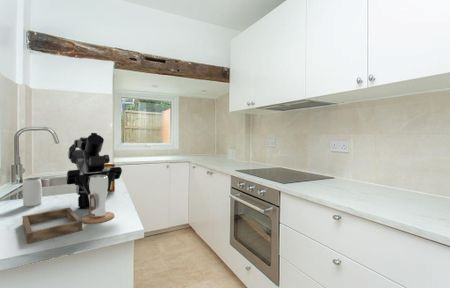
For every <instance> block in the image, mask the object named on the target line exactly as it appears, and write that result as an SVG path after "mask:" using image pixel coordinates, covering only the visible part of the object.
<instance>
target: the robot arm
mask: <svg viewBox="0 0 450 288" xmlns="http://www.w3.org/2000/svg"><path fill="white" fill-rule="evenodd" d="M104 142H105V139H104V138H103V137H102V136H101V135H100V134H98V133H97V132H91V133H90V134H89V135H88V137H87V136H86V137H85V136H81V137H79V139H75V140H74V142H73V144H71V146H70V147H69V149H68V152H67V155H68V159H69V160H70V163H72V164H75V165H76V169H68V170H67V172H66V184H67V185H75V186H76V187H75V188H76V189H75V192H76V194H77V196H78V197H77V206H78V209H79V210H82V209H89V208H90V204H89V197H88V195H89V189H88V180H89V176H91V175H108V183H109V185H108V193H110V192H109V191H110V186H111V181H114V179H115V180H118V179H120V178H121V175H122V172H123V168H122V167H121V166H115V167H110V171H103V169H104V164H105V163H111V161H110V156H109V154H104V155H100V153H101V151H102V148H103V145H104ZM77 148H78V149H77Z"/></svg>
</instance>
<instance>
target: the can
mask: <svg viewBox="0 0 450 288" xmlns="http://www.w3.org/2000/svg"><path fill="white" fill-rule="evenodd" d="M42 186H43V185H42V180H41V177H27V178H24V179H23V182H22V205H23V207H25V206H26V207H25V208H28V207H29V208H30V206H32V207H36V206H40V205H41V204H42V203H43V195H42V194H43V191H42V189H43V187H42Z"/></svg>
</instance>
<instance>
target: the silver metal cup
mask: <svg viewBox="0 0 450 288" xmlns="http://www.w3.org/2000/svg"><path fill="white" fill-rule="evenodd" d="M108 185H109V183H108V175H91V176H89V180H88V189H89V195H88V197H89V204H90V208H88V213H87V215H88V216H89V217H101V216H104V215H105V214H106V212H107V210H106V201H107V197H108V193H109V192H108Z"/></svg>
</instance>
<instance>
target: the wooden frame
mask: <svg viewBox="0 0 450 288" xmlns="http://www.w3.org/2000/svg"><path fill="white" fill-rule="evenodd" d="M65 217H67V219H68V220H69V221H70V222H68V223H63V224H59V225H55V226H49V227H45V228H40V229H35V230H33V229H32V226H31V224H35V223H40V222H45V221H51V220H55V219H60V218H65ZM22 227H23V231H24V235H25V239H26V244H28V245H29V244H31V243H32V244H33V243H36V242H40V241H44V240H49V239H52V238H56V237H60V236H64V235H67V234H71V233H75V232H80V231H83V222H82V218H80V217H79V216H78V215H77V214H76V212H74V211H73V210H72V208H70V207H64V208H59V209H54V210H48V211H43V212H37V213H33V214H26V215H22Z"/></svg>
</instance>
